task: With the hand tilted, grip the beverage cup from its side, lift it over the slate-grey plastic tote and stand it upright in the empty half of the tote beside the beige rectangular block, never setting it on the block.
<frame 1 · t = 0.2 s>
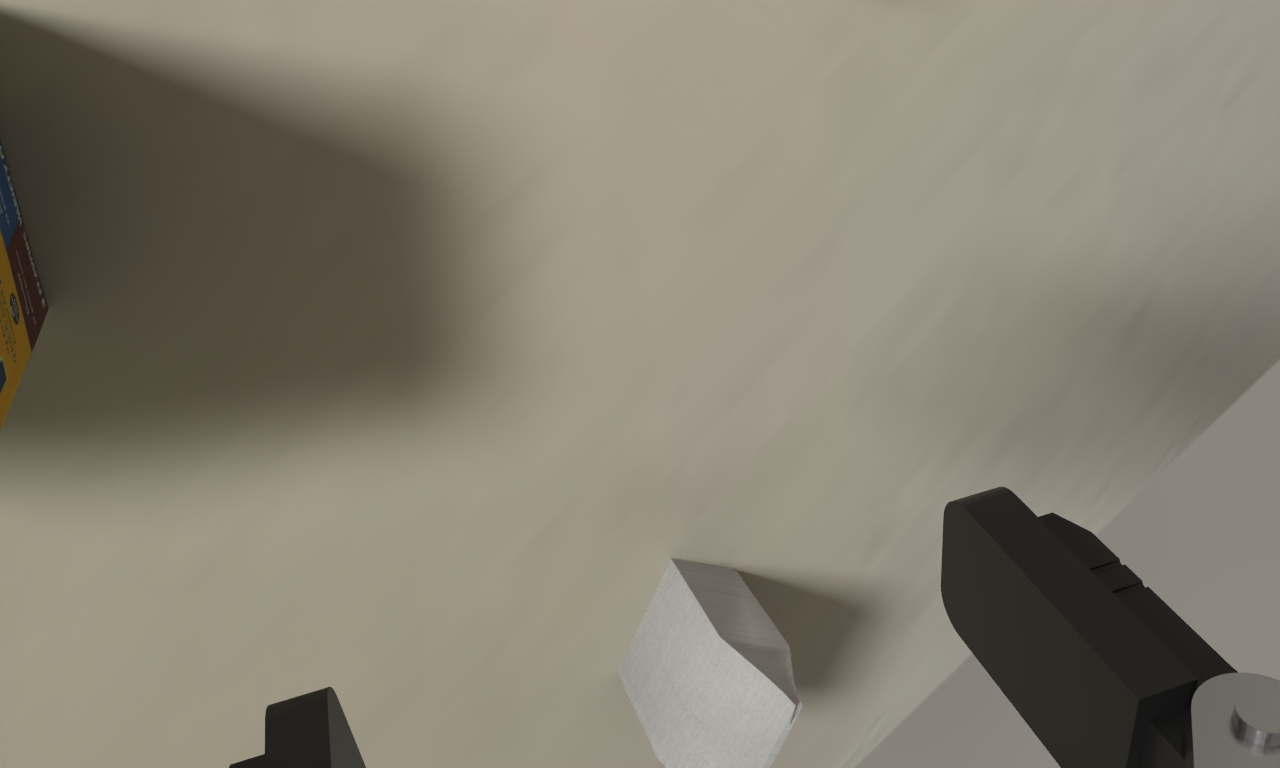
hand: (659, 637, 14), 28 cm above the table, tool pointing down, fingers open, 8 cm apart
small milk carton: (674, 618, 52), on the table
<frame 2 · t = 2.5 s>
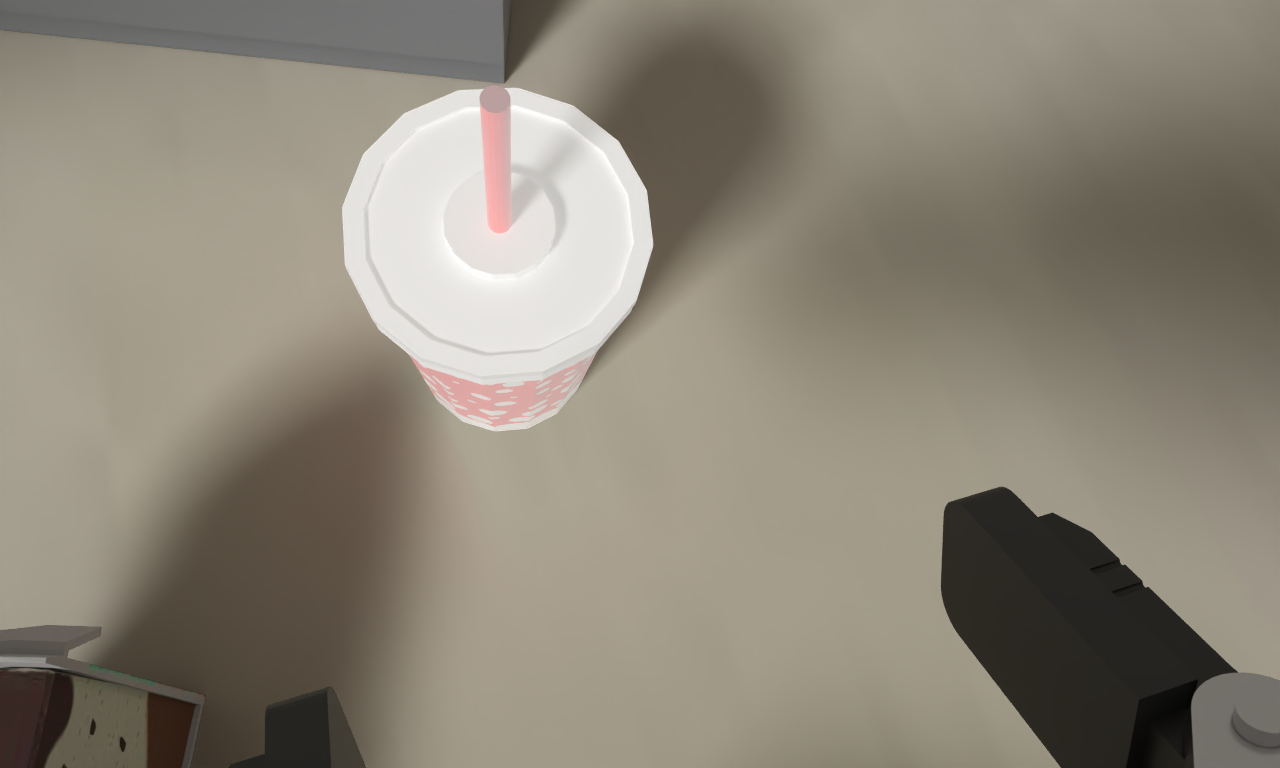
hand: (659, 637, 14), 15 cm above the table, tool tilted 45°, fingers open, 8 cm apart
beverage cup: (504, 352, 30), on the table
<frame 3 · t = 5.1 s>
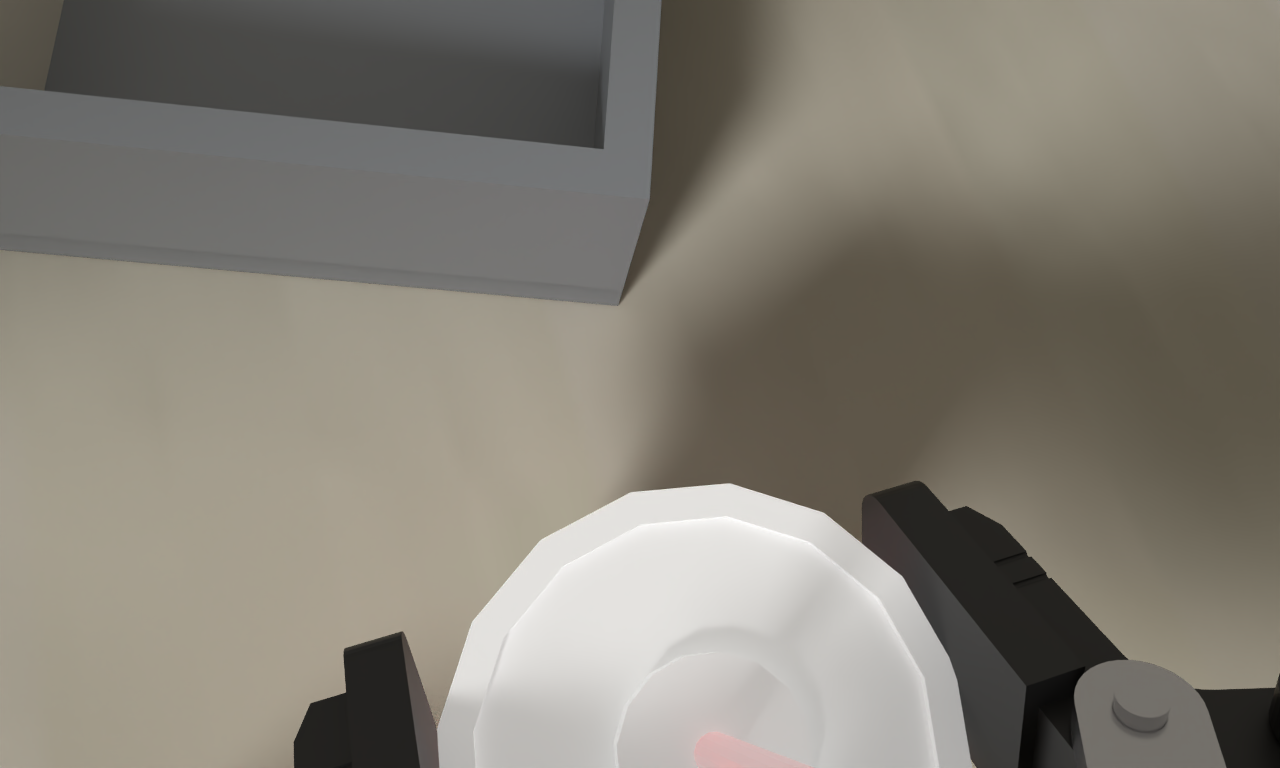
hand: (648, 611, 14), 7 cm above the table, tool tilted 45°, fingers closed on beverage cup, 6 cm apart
beverage cup: (626, 710, 21), on the table, touching gripper
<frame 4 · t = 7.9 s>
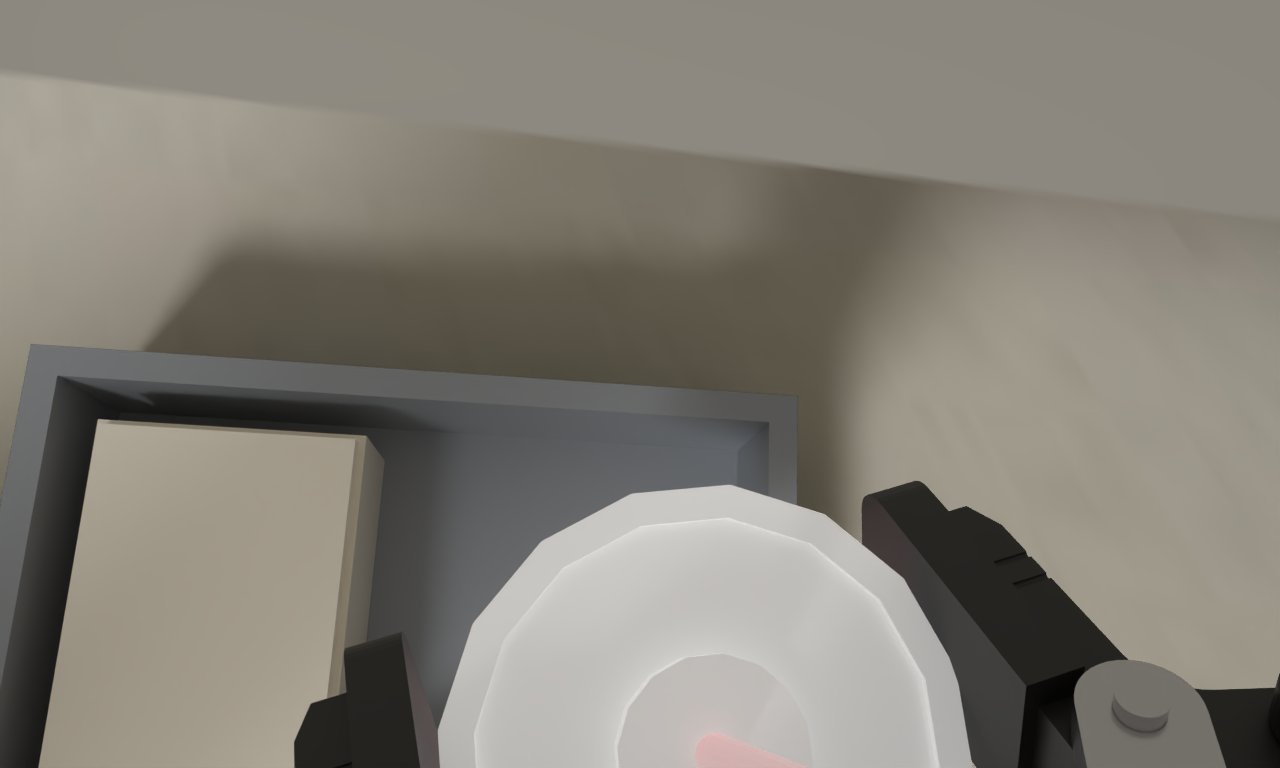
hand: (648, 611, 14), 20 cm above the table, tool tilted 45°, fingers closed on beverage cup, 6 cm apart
beverage cup: (627, 711, 21), point 12 cm above the table, touching gripper
beige rectangular block: (246, 621, 31), point 1 cm above the table, touching tote
tote: (421, 630, 33), on the table
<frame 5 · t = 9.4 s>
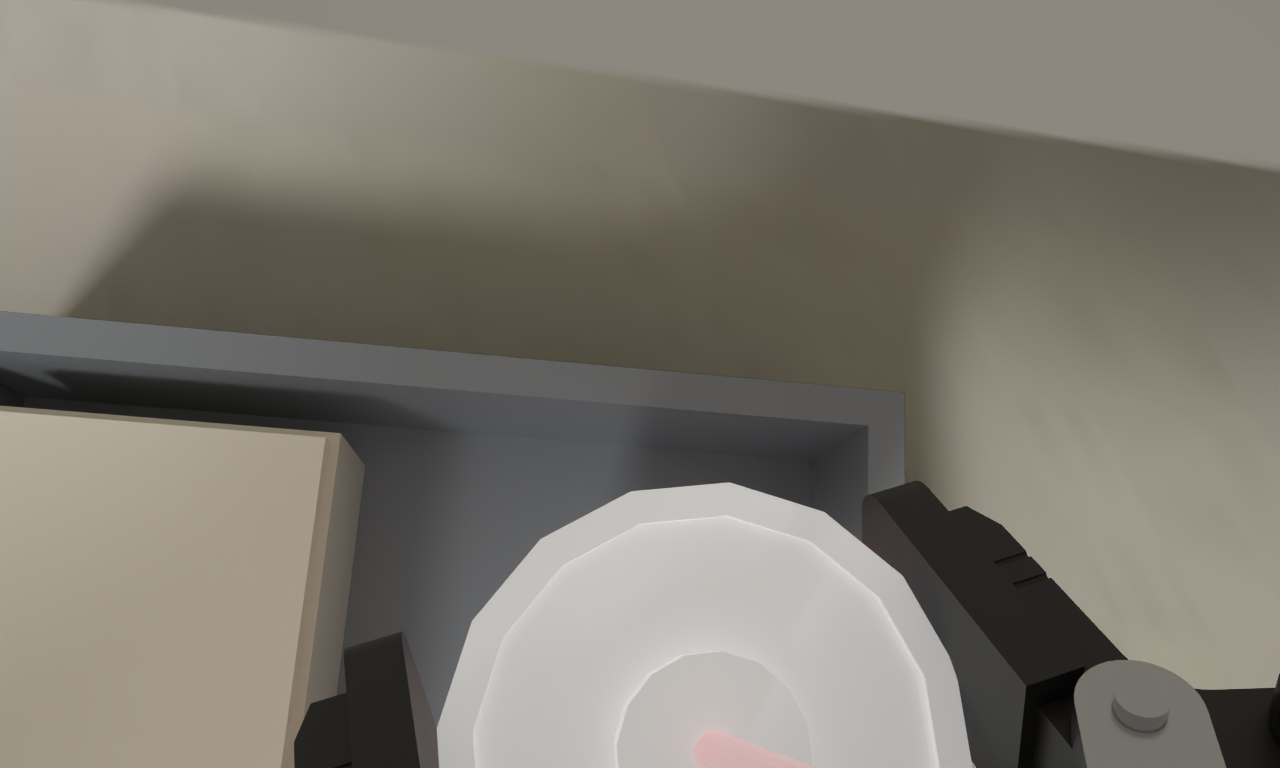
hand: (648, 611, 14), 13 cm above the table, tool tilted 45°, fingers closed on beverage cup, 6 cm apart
beverage cup: (626, 710, 21), point 5 cm above the table, touching gripper
beige rectangular block: (180, 671, 24), point 1 cm above the table, touching tote
tote: (408, 682, 26), on the table
when the fingers open (10 cm above the table, at t = 10.6 s): beverage cup drops 1 cm, resting on tote.
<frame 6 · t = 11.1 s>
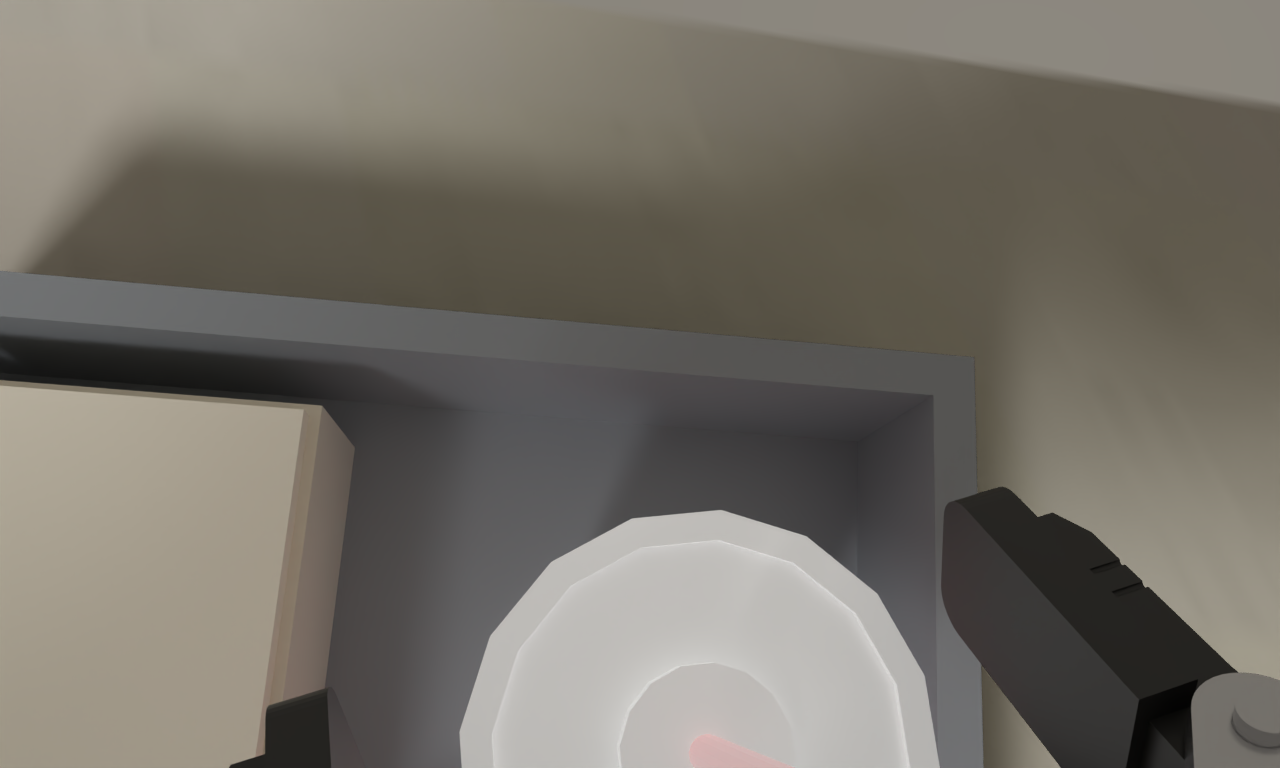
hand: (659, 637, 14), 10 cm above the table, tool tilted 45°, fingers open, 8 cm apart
beverage cup: (630, 714, 22), point 1 cm above the table, touching tote
beige rectangular block: (143, 681, 21), point 1 cm above the table, touching tote
tote: (404, 693, 23), on the table
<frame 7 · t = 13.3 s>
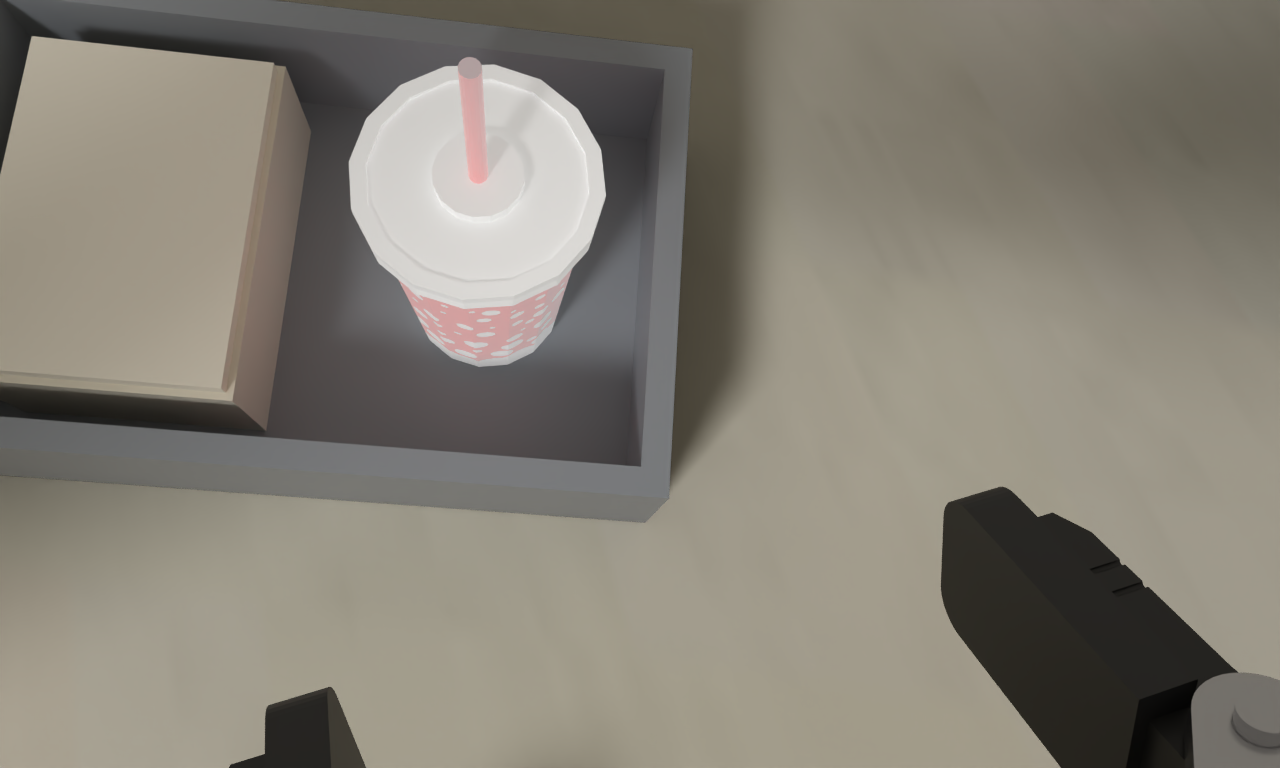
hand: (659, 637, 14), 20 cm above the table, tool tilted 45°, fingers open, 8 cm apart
beverage cup: (488, 299, 34), point 1 cm above the table, touching tote
beige rectangular block: (174, 264, 33), point 1 cm above the table, touching tote
tote: (342, 290, 35), on the table
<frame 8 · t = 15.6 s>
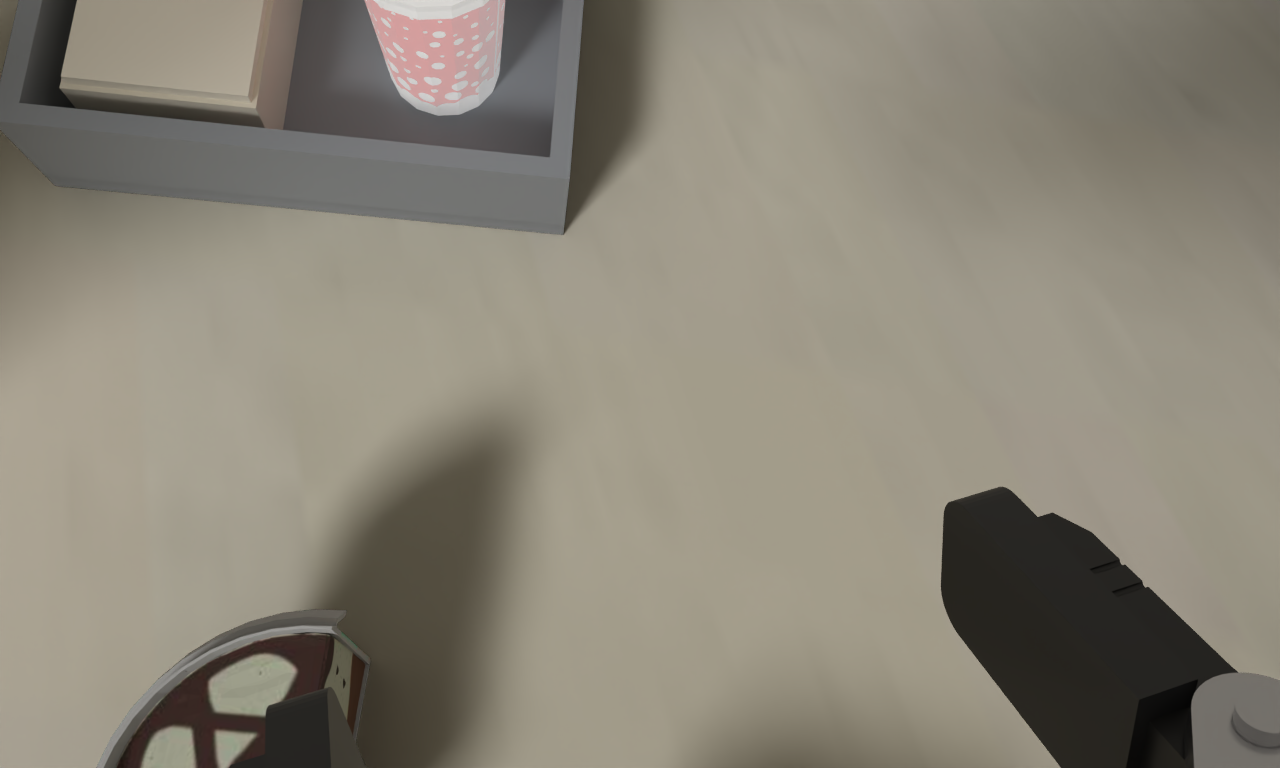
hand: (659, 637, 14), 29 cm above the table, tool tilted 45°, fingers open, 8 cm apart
beverage cup: (445, 69, 46), point 1 cm above the table, touching tote
beige rectangular block: (209, 38, 45), point 1 cm above the table, touching tote
tote: (335, 64, 46), on the table
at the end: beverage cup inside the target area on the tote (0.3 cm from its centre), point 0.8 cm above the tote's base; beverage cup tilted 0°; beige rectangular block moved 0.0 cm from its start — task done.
